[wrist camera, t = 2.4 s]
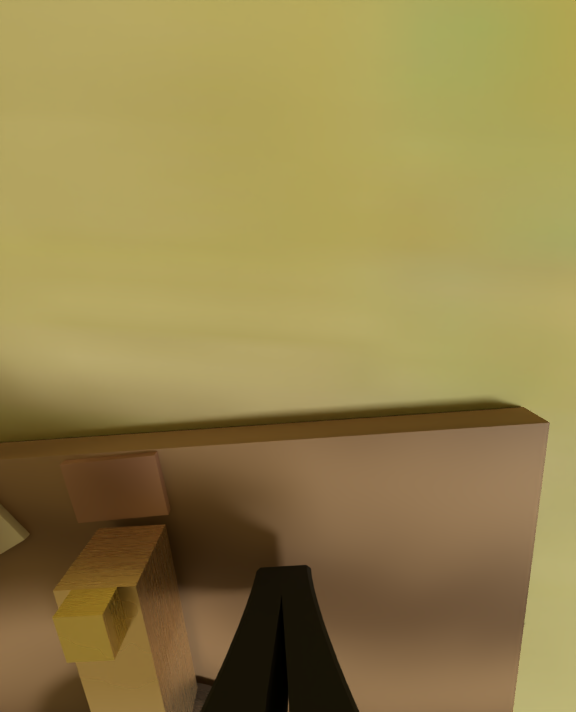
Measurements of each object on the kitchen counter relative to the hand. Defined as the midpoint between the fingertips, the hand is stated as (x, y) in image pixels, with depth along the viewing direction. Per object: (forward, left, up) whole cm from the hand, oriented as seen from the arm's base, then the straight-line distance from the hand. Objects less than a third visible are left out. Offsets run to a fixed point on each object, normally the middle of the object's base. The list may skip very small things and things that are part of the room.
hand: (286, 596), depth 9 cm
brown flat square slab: (-7, +4, -2) cm, 8 cm away
